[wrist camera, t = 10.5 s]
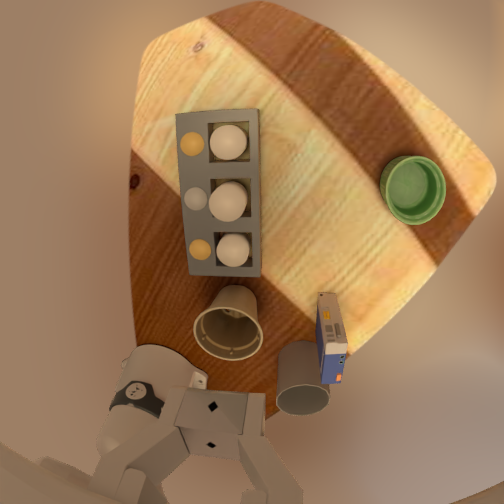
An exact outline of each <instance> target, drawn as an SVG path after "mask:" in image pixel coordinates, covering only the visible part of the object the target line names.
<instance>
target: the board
mask: <svg viewBox="0 0 504 504" xmlns="http://www.w3.org/2000/svg"><path fill="white" fill-rule="evenodd" d="M175 115H176V136H177V152H178V167H179V180H180V192H181V203H182V214H183V224H184V233H185V242H186V251H187V259H188V267H189V275H203V276H233V277H260V275H261V269H262V249H261V176H260V123H259V109H232V110H215V111H202V112H190V113H181V114H175ZM243 121H249V139H250V159H232V160H214V153H213V152H212V150H211V147H210V138H211V135H212V133H213V123H220V122H243ZM226 178H250V179H251V211H244V212H243V214H242V215H241V216H240V217H239V218H238V219H236V220H234V221H231V222H224V221H221V220H219V219H217V218H216V217H214V215H213V214H212V213H211V211H210V208H209V199H210V196H211V194H212V193H213V192H214V191H215V190H216V181H215V179H226ZM219 232H252V258H247V260H246V262H245V263H244V264H242V265H240V266H237V267H230V266H227V265H225V264H223V263H222V262H221V261H220V260H219V258H218V256H217V246H218V244H219Z"/></svg>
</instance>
